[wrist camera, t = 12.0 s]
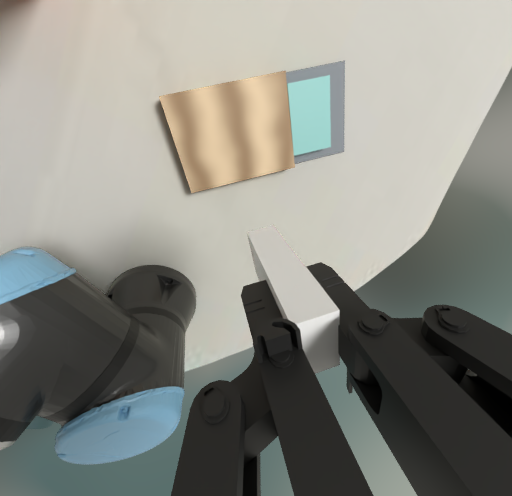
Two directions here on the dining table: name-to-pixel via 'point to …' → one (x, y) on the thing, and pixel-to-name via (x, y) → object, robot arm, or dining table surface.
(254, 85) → the tan wooden board
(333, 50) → the dining table surface
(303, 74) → the mat
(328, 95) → the turquoise rectangular block
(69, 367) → the robot arm
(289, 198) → the dining table surface
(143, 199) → the dining table surface
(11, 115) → the dining table surface
